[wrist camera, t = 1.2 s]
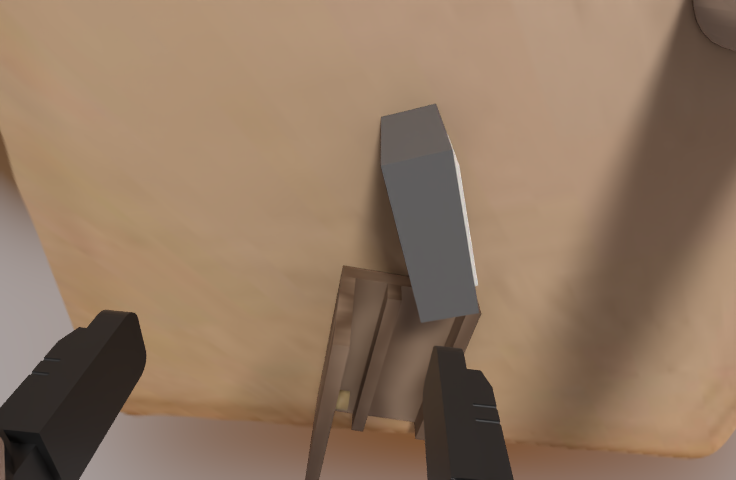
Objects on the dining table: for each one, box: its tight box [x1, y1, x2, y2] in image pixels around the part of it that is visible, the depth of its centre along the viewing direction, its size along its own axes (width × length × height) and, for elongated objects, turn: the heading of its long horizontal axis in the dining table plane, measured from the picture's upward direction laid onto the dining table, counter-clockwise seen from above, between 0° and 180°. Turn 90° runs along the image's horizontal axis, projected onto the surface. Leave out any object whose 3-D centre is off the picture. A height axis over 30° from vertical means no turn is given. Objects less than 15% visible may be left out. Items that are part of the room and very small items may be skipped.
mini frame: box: [381, 104, 479, 323], centre depth 31 cm, size 4×12×9 cm, turn 14°
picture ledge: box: [305, 266, 481, 480], centre depth 41 cm, size 12×18×10 cm, turn 169°
